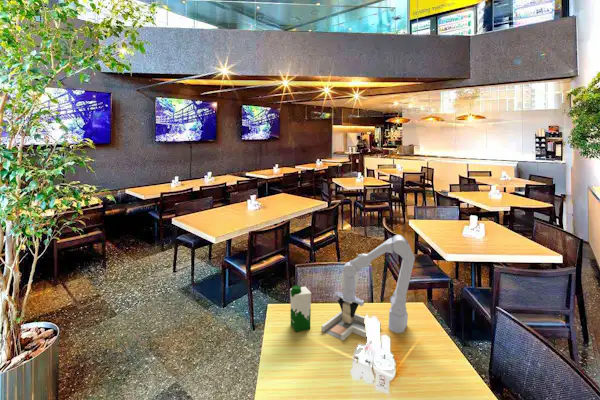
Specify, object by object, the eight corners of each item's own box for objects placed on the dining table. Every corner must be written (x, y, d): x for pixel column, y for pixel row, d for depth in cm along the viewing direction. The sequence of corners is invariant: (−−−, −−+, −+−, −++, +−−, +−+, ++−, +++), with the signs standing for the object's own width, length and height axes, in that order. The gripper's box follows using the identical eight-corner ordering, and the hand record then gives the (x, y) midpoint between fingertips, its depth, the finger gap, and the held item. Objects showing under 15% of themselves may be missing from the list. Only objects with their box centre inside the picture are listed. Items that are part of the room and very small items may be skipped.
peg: (346, 317, 150) (347, 300, 149) (353, 320, 148) (354, 302, 147) (342, 321, 147) (342, 303, 146) (349, 324, 145) (350, 305, 143)
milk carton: (288, 323, 148) (288, 284, 145) (305, 320, 151) (306, 281, 148) (294, 333, 140) (294, 292, 137) (313, 329, 143) (313, 288, 140)
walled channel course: (343, 315, 156) (343, 309, 155) (380, 329, 144) (380, 322, 143) (321, 332, 141) (321, 325, 140) (360, 349, 129) (360, 342, 128)
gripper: (331, 286, 146) (330, 313, 149) (359, 295, 138) (357, 323, 140) (339, 281, 152) (338, 307, 154) (366, 290, 143) (365, 317, 145)
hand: (348, 315), depth 147 cm, fingers closed on peg, 4 cm apart
